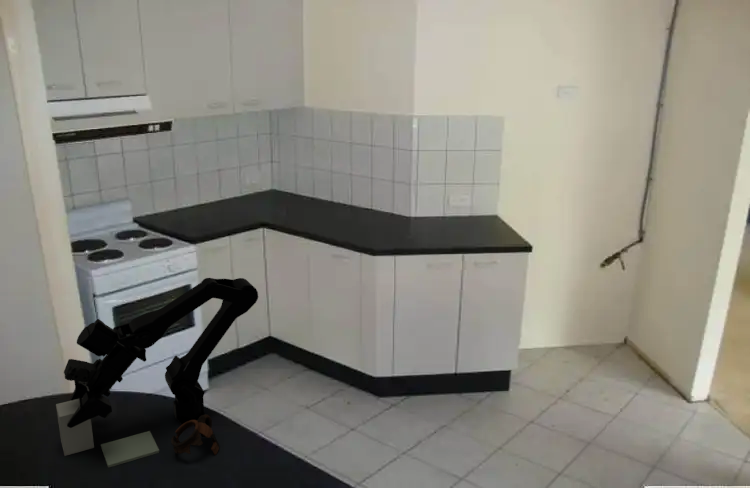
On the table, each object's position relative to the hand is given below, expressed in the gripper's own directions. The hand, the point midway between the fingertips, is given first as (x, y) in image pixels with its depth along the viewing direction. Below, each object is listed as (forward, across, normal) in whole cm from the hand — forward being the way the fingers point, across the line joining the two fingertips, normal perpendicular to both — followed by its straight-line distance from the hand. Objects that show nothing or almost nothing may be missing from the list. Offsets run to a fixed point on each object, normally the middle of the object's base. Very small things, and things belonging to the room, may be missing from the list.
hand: (67, 419), depth 144 cm
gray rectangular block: (+4, 0, +6) cm, 7 cm away
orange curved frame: (-13, +14, +23) cm, 30 cm away
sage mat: (-3, +8, +13) cm, 16 cm away
